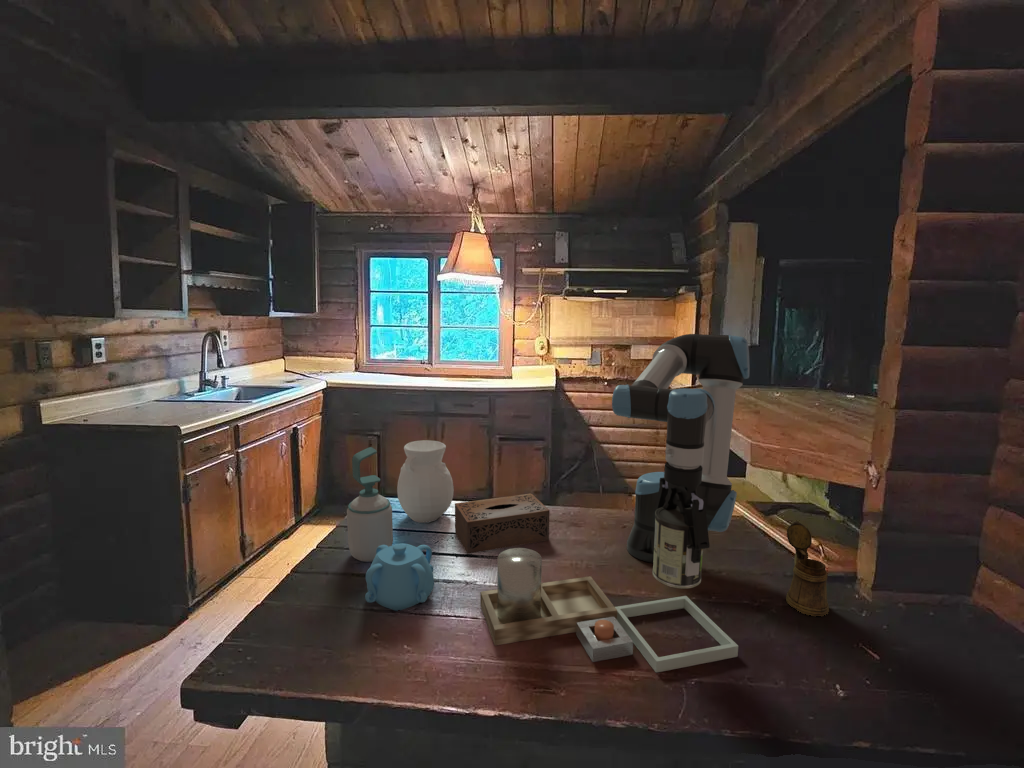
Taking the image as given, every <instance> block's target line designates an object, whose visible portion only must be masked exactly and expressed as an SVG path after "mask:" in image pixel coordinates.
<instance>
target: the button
mask: <svg viewBox="0 0 1024 768" xmlns="http://www.w3.org/2000/svg"><path fill="white" fill-rule="evenodd" d="M613 635H614V625H613V624H612V623H611V622H610V621H607V620H598V621H597V622H596V623H595V635H594V636H595V637H596V639H597V640H598V641H602V640H608V639H613Z"/></svg>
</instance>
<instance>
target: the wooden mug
mask: <svg viewBox="0 0 1024 768" xmlns="http://www.w3.org/2000/svg"><path fill="white" fill-rule="evenodd" d="M786 537H787V541H788V543H789V546H791V547H792V548H794V550H795V553H794V559H793V561H794V565H793V568H792V572H793V575H792V580H791V582H790V586H789V589H788V591H787V593H786V596H785V599H786V603H787V604H789V605H790V606H791V607H793V608H795V609H796V610H797V611H796V610H795V611H796V612H798V611H799V612H798V613H800V612H801V613H800V614H803V615H805V614H806V616H809V615H811V616H810V617H816V616H821V617H825V616H827V615H828V614H829V613H828V612H830V609H829V603H828V590H827V580H828V571H827V570H826V569H827V568H826V567H827V566H826V565H825V564H824V562H822V561H820V560H816V559H814V558H809V553H808V552H809V551H808V549H809V548H810V547H811V545H812V543H813V541H812V540H813V539H812V533H811V532H810V530H809V529H808V528H807V527H806V526H805V525H804V524H803V523H801V522H799V521H797V520H796V521H794V522H793V523H792V524H790V525H789V526H788V527H787V529H786ZM789 605H788V606H789ZM790 606H789V607H790ZM791 607H790V608H791ZM793 608H792V609H793ZM826 614H827V615H826ZM824 615H825V616H824Z"/></svg>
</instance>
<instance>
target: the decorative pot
mask: <svg viewBox="0 0 1024 768" xmlns="http://www.w3.org/2000/svg"><path fill="white" fill-rule="evenodd" d="M424 550H426V551H425V553H426V554H424V552H423V551H424ZM432 556H433V551H432V548H431V546H429V545H427V544H420V545H418V546H415V545H412V544H410V543H409V544H408V543H405V542H404V543H403V542H402V543H396V544H392V546H389V547H388V546H387V545H380V546H379V547H378V548H377V549H376V556H375V558H374V560H373V561H372V562H371V564H370V567H369V568H368V569H367V571H366V573H365V581H366V587H367V592H366V593H365V596H364V599H365V601H366V602H367V603H375V602H376V603H377V604H379V605H380V606H382V607H384V608H386V609H389V610H392V611H395V612H399V611H398V610H400V611H402V610H406V609H410V608H411V607H414V606H415V605H417V604H419V603H425V602H426V601H427V600H428V597H430V595H431V593H432V591H433V590H434V589H435V588H434V587H435V579H434V574H433V572H434V566H433V565H432V564H431V560H432Z"/></svg>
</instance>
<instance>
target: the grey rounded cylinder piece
mask: <svg viewBox="0 0 1024 768" xmlns="http://www.w3.org/2000/svg"><path fill="white" fill-rule="evenodd" d="M542 561H543V559H542V556H541V554H540V553H538V551H535V550H533V549H530V548H525V547H514V548H512V547H511V548H508V549H505V550H503V551H501V552H500V553H499V554H498V556H497V569H496V570H497V578H496V579H497V583H496V584H497V588H496V589H497V617H498V619H499V621H500V622H501V623H503V624H506V623H513V622H519V621H525V620H532V619H538V618H540V617H541V583H542V568H543V567H542V566H543V564H542V563H543V562H542Z"/></svg>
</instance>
